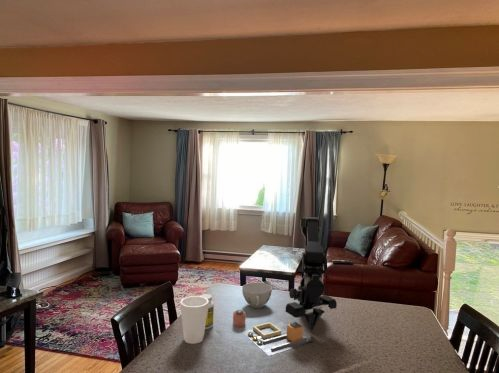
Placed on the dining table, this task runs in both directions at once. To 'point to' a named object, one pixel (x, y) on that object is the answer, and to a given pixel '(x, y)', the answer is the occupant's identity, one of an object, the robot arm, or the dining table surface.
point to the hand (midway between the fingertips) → (310, 329)
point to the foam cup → (194, 318)
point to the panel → (275, 339)
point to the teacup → (256, 294)
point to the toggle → (294, 331)
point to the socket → (277, 332)
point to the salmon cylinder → (239, 318)
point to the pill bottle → (209, 311)
